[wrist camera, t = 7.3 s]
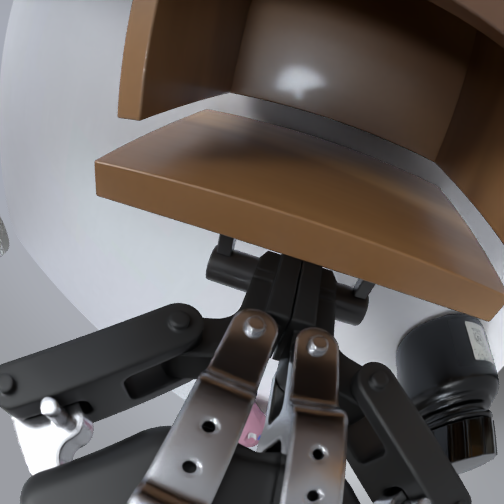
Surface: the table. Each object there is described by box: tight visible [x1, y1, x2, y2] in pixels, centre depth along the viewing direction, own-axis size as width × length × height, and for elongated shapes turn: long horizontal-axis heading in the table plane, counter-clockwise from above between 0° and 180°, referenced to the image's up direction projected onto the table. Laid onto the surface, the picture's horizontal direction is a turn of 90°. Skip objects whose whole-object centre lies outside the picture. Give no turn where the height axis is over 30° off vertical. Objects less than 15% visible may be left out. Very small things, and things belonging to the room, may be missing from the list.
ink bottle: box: [396, 314, 499, 474], centre depth 16 cm, size 10×9×12 cm
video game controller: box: [238, 402, 266, 447], centre depth 33 cm, size 10×5×7 cm, turn 162°
